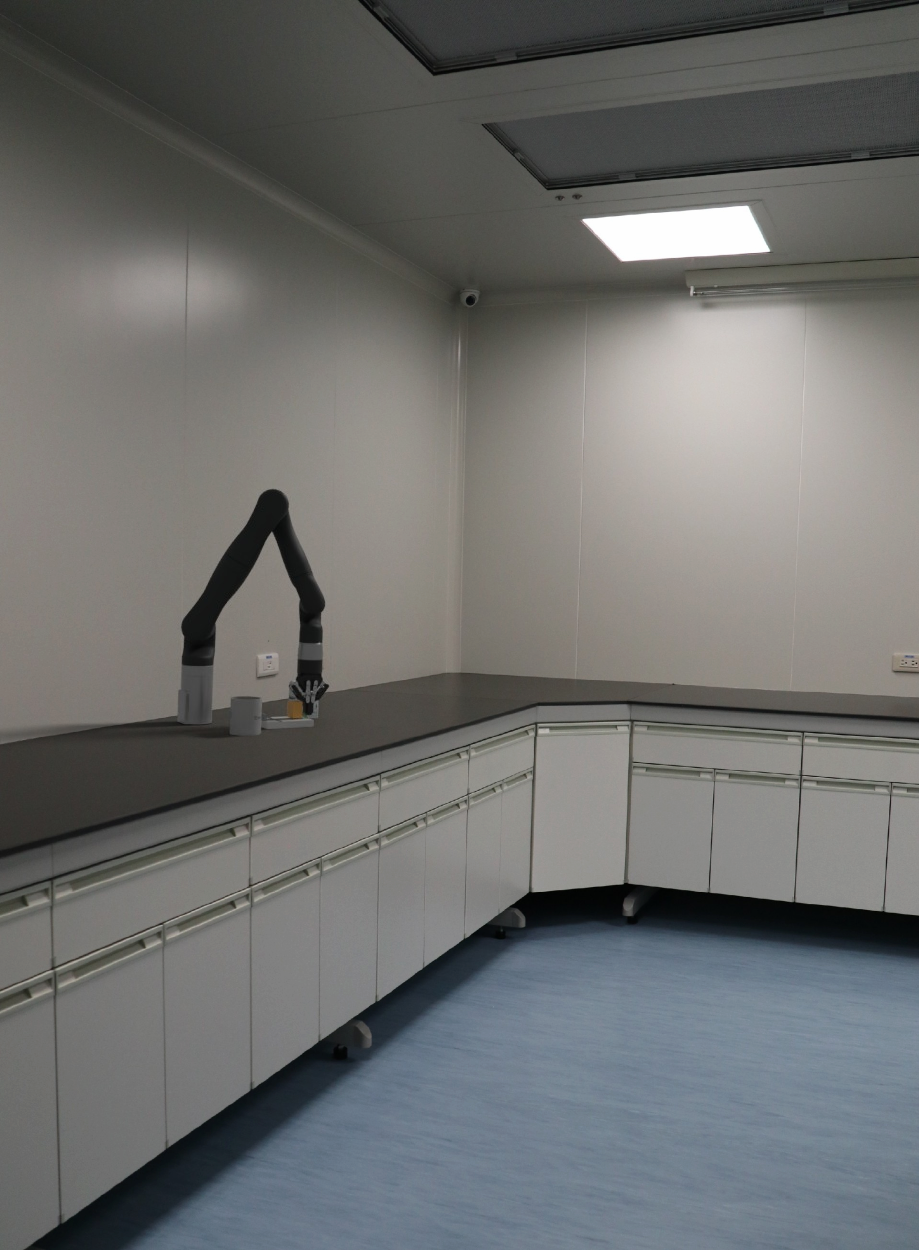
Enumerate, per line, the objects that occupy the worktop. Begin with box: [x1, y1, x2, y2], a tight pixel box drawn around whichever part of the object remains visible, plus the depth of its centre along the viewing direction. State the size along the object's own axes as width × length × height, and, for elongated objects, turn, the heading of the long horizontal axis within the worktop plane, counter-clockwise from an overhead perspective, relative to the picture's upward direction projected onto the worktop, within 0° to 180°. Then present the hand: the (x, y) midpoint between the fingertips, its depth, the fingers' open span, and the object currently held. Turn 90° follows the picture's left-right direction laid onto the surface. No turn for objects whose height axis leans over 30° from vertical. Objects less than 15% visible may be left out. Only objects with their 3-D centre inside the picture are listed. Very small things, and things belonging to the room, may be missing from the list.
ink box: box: [288, 679, 320, 720], centre depth 329 cm, size 9×5×12 cm, turn 135°
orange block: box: [286, 700, 302, 718], centre depth 313 cm, size 3×4×5 cm
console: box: [261, 712, 315, 730], centre depth 311 cm, size 15×10×4 cm, turn 124°
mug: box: [229, 695, 263, 737], centre depth 295 cm, size 12×9×10 cm
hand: (308, 714), depth 316 cm, fingers closed
